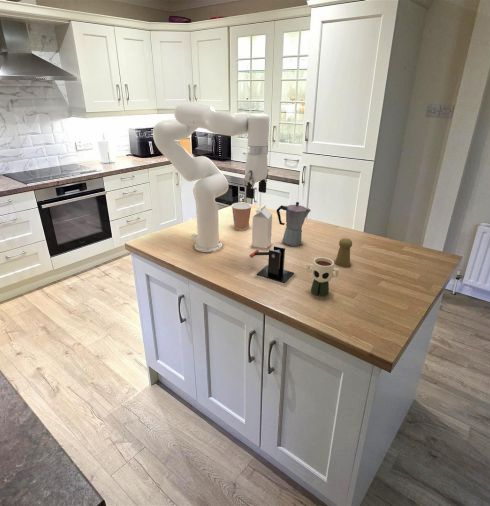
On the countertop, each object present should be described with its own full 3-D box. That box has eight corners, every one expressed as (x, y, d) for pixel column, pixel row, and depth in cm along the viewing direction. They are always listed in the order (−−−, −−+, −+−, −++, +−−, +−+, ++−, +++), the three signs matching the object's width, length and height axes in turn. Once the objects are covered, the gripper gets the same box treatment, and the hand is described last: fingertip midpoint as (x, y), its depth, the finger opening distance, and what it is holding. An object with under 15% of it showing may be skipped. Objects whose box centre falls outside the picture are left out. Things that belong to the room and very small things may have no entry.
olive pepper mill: (341, 268, 142) (345, 243, 138) (332, 261, 147) (335, 238, 143) (353, 265, 145) (357, 240, 140) (342, 259, 150) (346, 235, 145)
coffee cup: (233, 223, 187) (233, 201, 182) (252, 224, 186) (252, 202, 180) (229, 230, 178) (229, 207, 173) (249, 231, 177) (250, 209, 171)
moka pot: (308, 247, 160) (313, 205, 152) (275, 246, 161) (277, 205, 152) (305, 239, 169) (309, 199, 160) (274, 238, 169) (276, 198, 161)
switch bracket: (256, 277, 135) (257, 249, 130) (267, 267, 142) (268, 241, 137) (284, 285, 129) (286, 257, 124) (294, 275, 136) (296, 248, 131)
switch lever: (250, 259, 136) (248, 253, 135) (256, 254, 140) (255, 248, 139) (277, 258, 129) (276, 252, 128) (283, 253, 133) (282, 247, 132)
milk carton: (270, 244, 163) (272, 205, 155) (266, 250, 157) (268, 210, 149) (256, 242, 165) (257, 203, 157) (251, 247, 159) (252, 208, 151)
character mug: (302, 295, 123) (305, 263, 118) (306, 286, 129) (309, 254, 124) (333, 302, 120) (338, 269, 114) (336, 292, 126) (341, 260, 120)
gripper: (260, 146, 137) (258, 188, 144) (236, 152, 124) (236, 199, 131) (277, 148, 133) (274, 191, 141) (255, 154, 120) (253, 202, 128)
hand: (256, 195), depth 136 cm, fingers open, 9 cm apart
